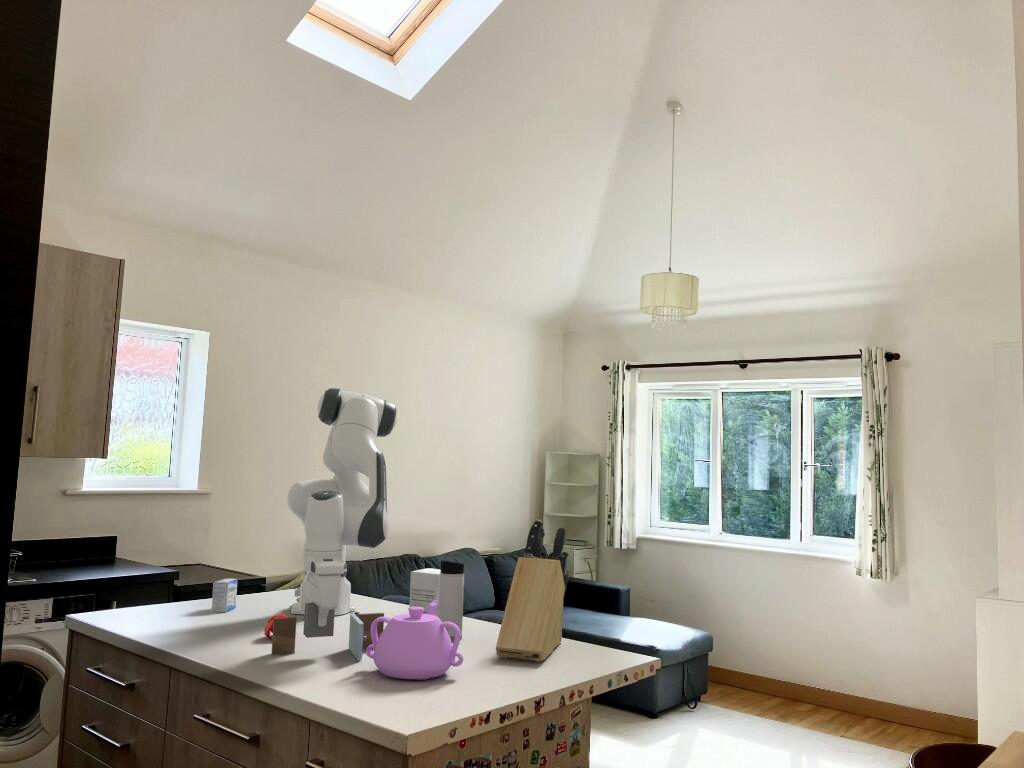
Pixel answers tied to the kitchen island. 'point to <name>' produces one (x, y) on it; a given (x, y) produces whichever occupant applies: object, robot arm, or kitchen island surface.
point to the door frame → (287, 632)
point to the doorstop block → (311, 622)
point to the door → (356, 636)
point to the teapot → (414, 645)
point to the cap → (271, 625)
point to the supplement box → (424, 588)
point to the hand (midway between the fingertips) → (319, 623)
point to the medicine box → (224, 595)
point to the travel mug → (451, 595)
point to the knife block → (535, 600)
